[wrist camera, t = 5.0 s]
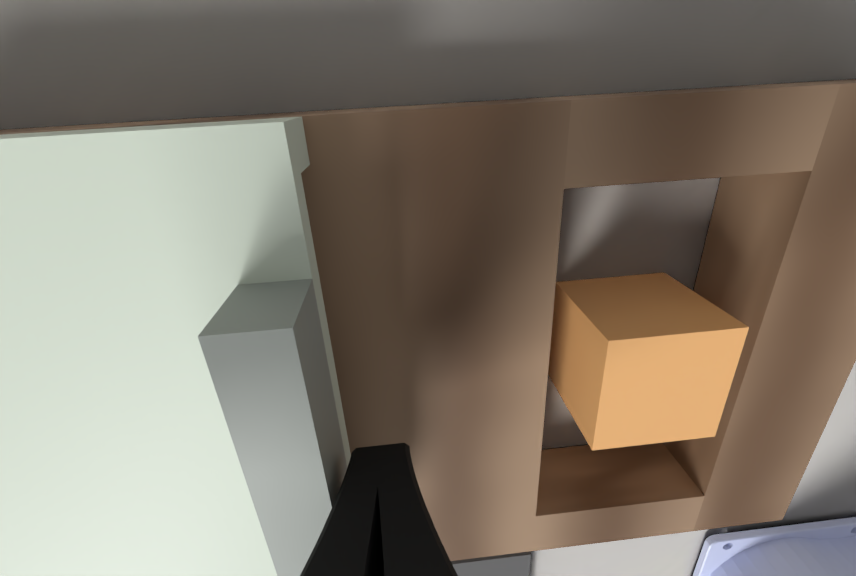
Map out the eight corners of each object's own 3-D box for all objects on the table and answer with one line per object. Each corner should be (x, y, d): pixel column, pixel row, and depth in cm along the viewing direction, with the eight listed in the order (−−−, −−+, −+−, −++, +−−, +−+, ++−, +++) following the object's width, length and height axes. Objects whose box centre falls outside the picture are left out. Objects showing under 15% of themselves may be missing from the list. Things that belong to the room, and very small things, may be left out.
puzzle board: (860, 78, 13) (986, 75, 10) (727, 460, 20) (782, 520, 17) (-125, 136, 11) (-289, 151, 8) (103, 532, 18) (53, 610, 15)
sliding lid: (301, 116, 9) (249, 131, 6) (378, 575, 16) (375, 709, 12) (-207, 146, 8) (-618, 185, 5) (101, 610, 15) (17, 762, 12)
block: (662, 271, 15) (749, 327, 12) (644, 363, 17) (715, 436, 13) (554, 280, 15) (608, 341, 11) (547, 373, 17) (591, 450, 13)
